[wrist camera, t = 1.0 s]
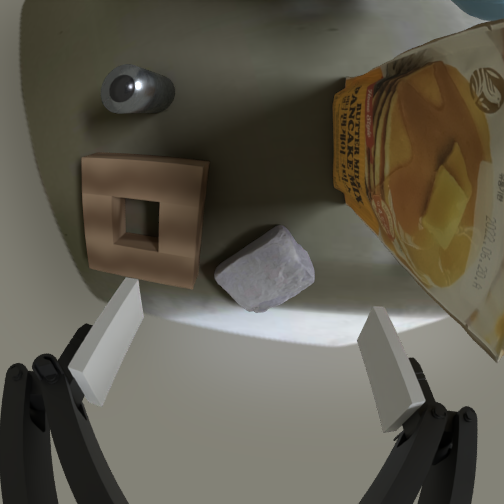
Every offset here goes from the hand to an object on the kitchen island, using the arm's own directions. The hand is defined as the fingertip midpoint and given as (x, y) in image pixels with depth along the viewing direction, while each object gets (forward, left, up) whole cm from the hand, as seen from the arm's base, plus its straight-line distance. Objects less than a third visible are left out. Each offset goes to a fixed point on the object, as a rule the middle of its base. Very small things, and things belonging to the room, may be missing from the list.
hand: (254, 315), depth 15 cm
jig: (+4, -15, -22) cm, 27 cm away
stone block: (+10, +3, -22) cm, 25 cm away
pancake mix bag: (-10, +10, -22) cm, 26 cm away
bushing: (-12, -15, -22) cm, 29 cm away
